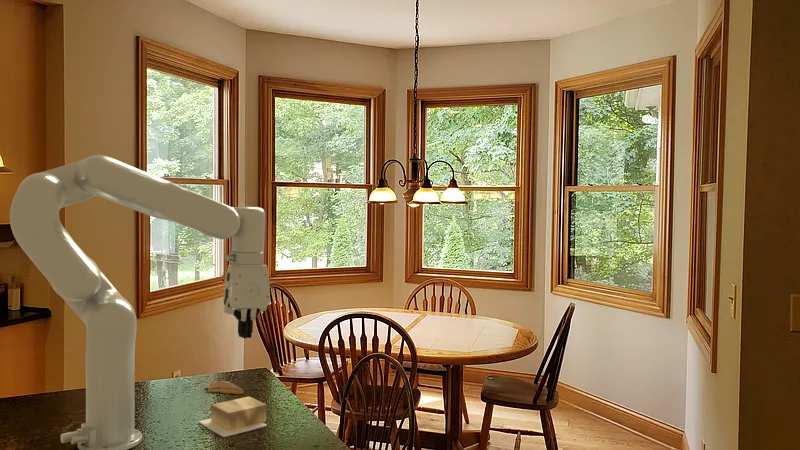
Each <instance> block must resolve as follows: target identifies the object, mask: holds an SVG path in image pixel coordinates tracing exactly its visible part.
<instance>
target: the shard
mask: <svg viewBox="0 0 800 450" xmlns="http://www.w3.org/2000/svg"><path fill="white" fill-rule="evenodd" d="M205 386H206V387H207V393H219V392H220V393H222V394H231V395H232V394H234V395H242V394H244V392H245V389H242V388H240V387H239V386H238V385H237V384H234V383H233V382H230V381H224V380H223V381H222V380H219V381H214V382H213V381H212V382H208V383H205Z"/></svg>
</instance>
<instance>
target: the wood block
mask: <svg viewBox="0 0 800 450" xmlns="http://www.w3.org/2000/svg"><path fill="white" fill-rule="evenodd" d="M210 406H211V409H210V418H211V422H213V423H215V424H217V425H218V426H220V427H222V428H223V429H225V430H227V431H229V430H233V429H237V428H241V427H245V426H249V425H253V424H257V423H261V422H263V423H265V422H267V409H268V408H267V407H268V406H267V404H266V403H264V402H262V401H260V400H258V399H257V398H256V399H255V398H253V397H251V396H249V395H248V396H245V397H241V398H236V399H231V400H228V401H227V400H226V401H222V402H217V403H213V404H210Z"/></svg>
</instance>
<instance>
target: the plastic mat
mask: <svg viewBox="0 0 800 450" xmlns="http://www.w3.org/2000/svg"><path fill="white" fill-rule="evenodd" d="M198 424H199V425H202V426H203V427H205V428H206V429H209V430H210V431H212V432H213V433H215V434H217V435H218V436H220V437H222V438H227V437H231V436H234V435H238V434H241V433H246V432H250V431H253V430H258V429H261V428H265V427H268V425H267V424H266V423H265V422H261V423H257V424H253V425H249V426H245V427H241V428H237V429H233V430H229V431H227V430H225V429H223V428H222V427H220V426H218V425H217V424H215V423H213V422H211V417H210V418H207V419H203V420H199V421H198Z"/></svg>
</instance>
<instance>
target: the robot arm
mask: <svg viewBox="0 0 800 450" xmlns="http://www.w3.org/2000/svg"><path fill="white" fill-rule="evenodd" d="M95 197H100V198H103V199H105V200H108V201H110V202H112V203H115V204H118V205H120V206H124V207H125V208H129V209H131V210H133V211H135V212H139V213H142V214H144V215H146V216H150V217H152V218H155V219H159V220H164V221H167V222H168V221H169V222H173V223H176V224H179V225H182V226H185V227H187V228H189V229H193V230H196V231H199V232H200V233H201V234H202V235H204V236H206V237H210V238H215V239H218V240H228V239H231V249H230V250H231V251H230V253H229V254H227V255H226V256H225V260H226V261H228V262H229V263H230V264H228V266H227V269H226V274H225V279H224V287H223V305H224V308H223V312H224V314H227V315H232V316H234V317H235V319H236V320H237V333H238V337H240V338H243V339H249V338H250V339H251V338H252V336H253V327H254V326H253V324H254V321H255V319H256V317H257V316H258V315H259V314H260V313H263V312H265V311H267V310H268V306H269V304H270V302H271V301H270V300H271V288H270V287H271V285H270V284H271V283H270V275H269V269H268V265H267V264H265V263H264V261H265V236H266V234H265V233H266V211H265V210H264V208H262V207H259V206H236V207H233V206H229V205H227V204H225V203H223V202H221V201H218V200H215V199H213V198H211V197H208V196H205V195H203V194H201V193H198V192H196V191H193V190H191V189H189V188H185V187H182V186H180V185H179V184H177V183H174V182H172V181H169V180H168V179H165V178H162V177H160V176H157V175H154V174H152V173H149V172H148V171H144V170H142V169H139V168H137V167H135V166H133V165H131V164H128V163H125V162H124V161H121V160H118V159H116V158H114V157H112V156H109V155H105V154H94V155H90V156H88V157H85V158H83V159H80V160H76V161H75V162H70V163H69V164H65V165H61V166H59V167H54V168H51V169H47V170H45V171H40V172H35V173H32V174H30V175H28V176H26V177H25V178H24V179H23V180H22V181H21V182H20V184H19V186H18V187H17V190H16V192H15V194H14V196H13V198H12V202H11V205H10V209H9V223H10V224H9V225H10V228H11V231H12V234H13V237H14V239H15V240H16V242H17V245H19V247H20V248H21V249H22V251H23V252H24V253H25V254H26V256H27V257H28V258H29V260H30V261H31V262H32V263H33V264H34V266H35V267H36V268H37V269H38V270H39V271H40V272H41V274H42V275H43V276H44V277H45V279H46V280H47V281H48V282H49V283H50V287H52V289H53V291H54V292H55V293H56V294H57V295H58V296H60V298H62V299H63V300H64V302H65V303H66V304H67V305H68V306H69V307H70V309H71V310H72V311H73V312H74V314H76V315H77V316H78V318H79V319H80V320H81V321H82V322H83V323H84V325H85V327H86V329H85V330H86V340H85V341H86V342H85V343H86V344H85V347H86V348H85V422H83V423H81V424H80V425H81V428H77V429H76V430H75V431H68V432H64V433H60V435H59V437H60V442H61V444H64V443H65V444H66V443H69V442H71V444H72V445H74V444H77V449H78V450H129V449H132V448H134V447H136V446H138V445H139V444H140V443H142V440H143V433H142V432H141V431H140V430H138V429H136V428H135V416H136V415H135V410H136V409H135V408H136V407H135V404H136V403H135V401H136V400H135V398H136V397H135V396H136V395H135V387H136V386H135V381H136V380H135V377H136V375H135V372H136V371H135V369H136V368H135V363H136V362H135V355H136V342H137V341H136V338H137V330H138V328H137V327H138V325H137V323H138V320H137V316H136V312H135V309H134V307H133V305H132V304H131V303H130V302H129V301H128V300H127V299H126V298H125V297H123V296H122V294H120V292H119V291H118V290H117V289H116V287H115V286H114V285H113V284H112V282H111V281H110V280H109V279H108V277H106V276H105V274H104V273H103V272H102V270H101V269H100V268H99V266H98V265H97V263H96V262H95V261H94V260H93V259H92V258H90V257H89V256H88V255H87V254H86V253H85V252H84V251H83V249H81V247H80V246H79V245H78V244H77V242H76V241H75V240H74V239H73V238H72V236H71V234H70V233H69V232H68V231H67V230H66V228H65V227H64V226H63V224H62V222H61V219H60V211H61V209H62V208H65V207H69V206H72V205H74V204H78V203H81V202H84V201H86V200H89V199H92V198H95Z"/></svg>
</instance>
